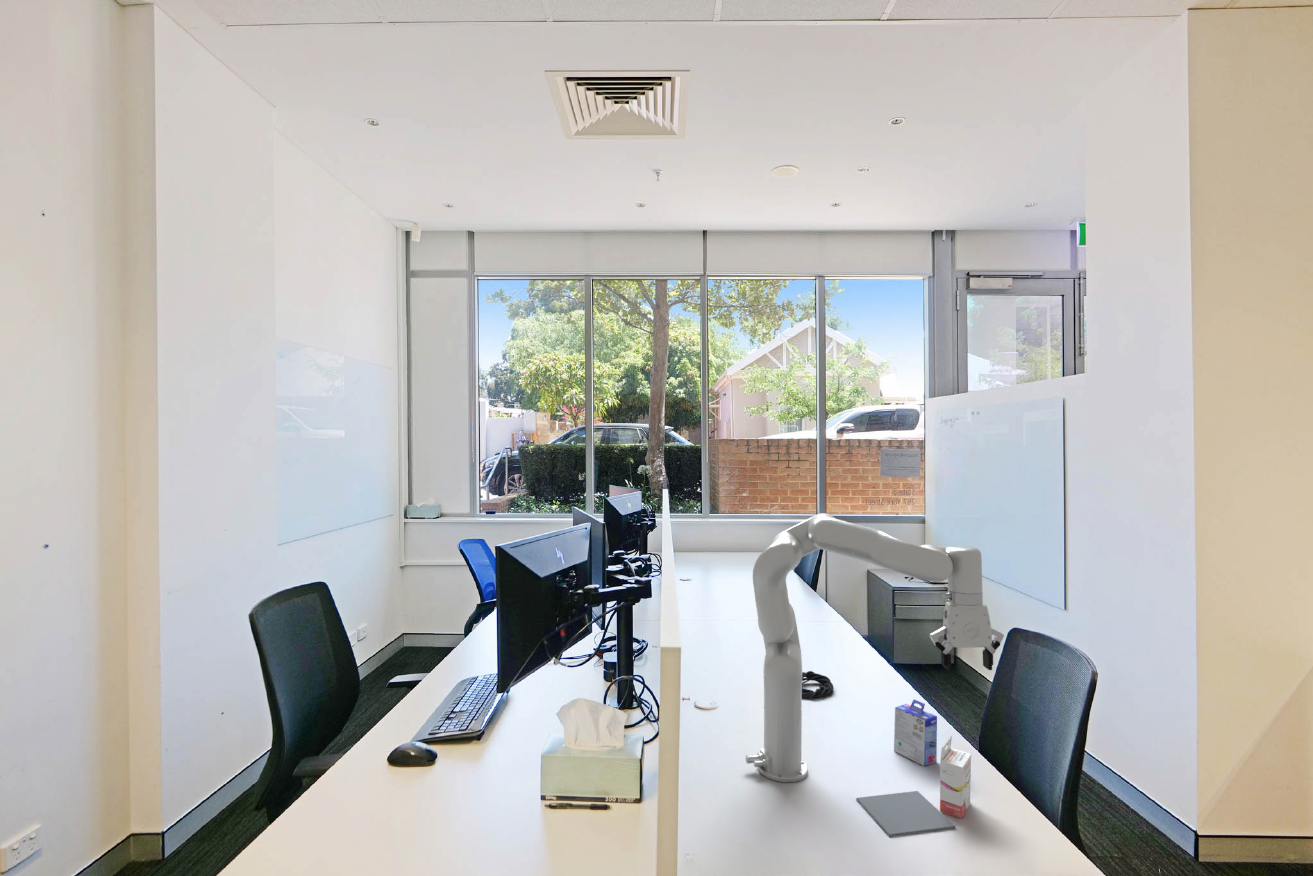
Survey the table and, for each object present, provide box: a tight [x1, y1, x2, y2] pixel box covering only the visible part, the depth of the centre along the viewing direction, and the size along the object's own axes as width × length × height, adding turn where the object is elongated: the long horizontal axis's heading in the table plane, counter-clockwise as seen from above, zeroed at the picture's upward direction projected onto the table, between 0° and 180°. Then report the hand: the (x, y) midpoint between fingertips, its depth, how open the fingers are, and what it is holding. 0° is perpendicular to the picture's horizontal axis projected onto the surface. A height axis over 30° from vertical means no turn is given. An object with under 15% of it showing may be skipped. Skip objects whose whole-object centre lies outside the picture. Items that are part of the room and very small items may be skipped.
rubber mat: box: [855, 790, 956, 837], centre depth 144 cm, size 16×14×1 cm
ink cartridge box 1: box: [893, 699, 938, 767], centre depth 170 cm, size 10×6×14 cm, turn 31°
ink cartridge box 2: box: [939, 735, 972, 819], centre depth 147 cm, size 9×5×15 cm, turn 141°
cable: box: [802, 670, 834, 700], centre depth 215 cm, size 17×14×4 cm
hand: (967, 668), depth 153 cm, fingers open, 9 cm apart
